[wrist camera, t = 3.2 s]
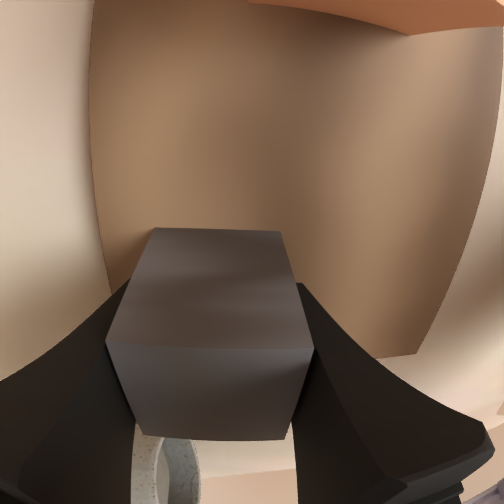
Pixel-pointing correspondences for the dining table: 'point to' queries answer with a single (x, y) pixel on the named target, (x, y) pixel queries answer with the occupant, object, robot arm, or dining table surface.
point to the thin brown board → (275, 195)
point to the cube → (409, 12)
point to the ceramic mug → (164, 470)
